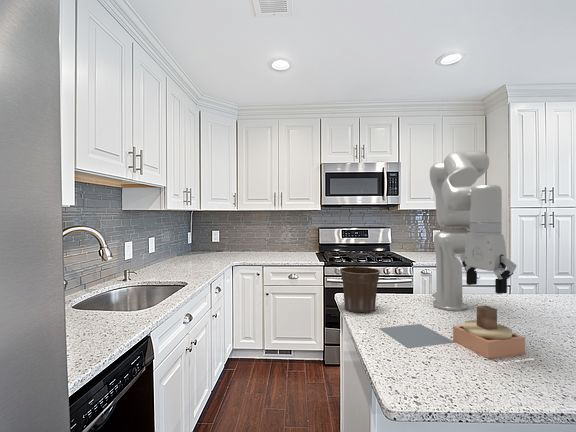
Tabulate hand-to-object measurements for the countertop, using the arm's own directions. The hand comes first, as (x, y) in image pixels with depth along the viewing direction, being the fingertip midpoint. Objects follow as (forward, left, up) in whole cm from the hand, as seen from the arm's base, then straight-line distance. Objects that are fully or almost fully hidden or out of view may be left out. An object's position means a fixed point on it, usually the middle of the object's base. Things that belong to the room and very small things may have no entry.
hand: (485, 288), depth 87 cm
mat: (-12, -14, -17) cm, 25 cm away
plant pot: (-43, -17, -17) cm, 50 cm away
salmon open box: (+1, 0, -17) cm, 17 cm away
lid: (+1, 0, -12) cm, 12 cm away
